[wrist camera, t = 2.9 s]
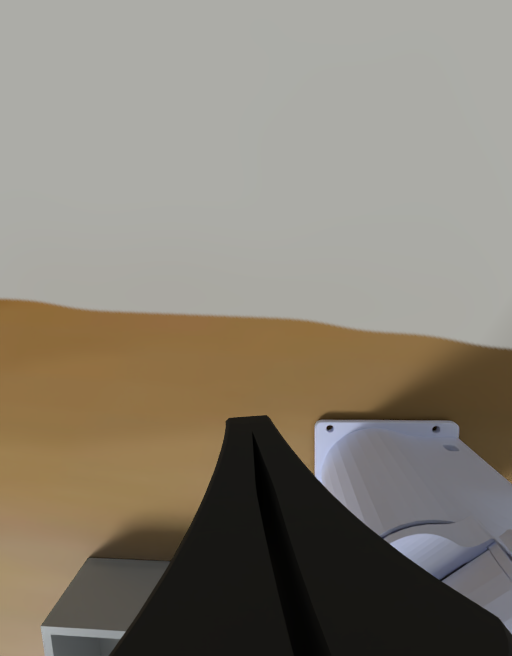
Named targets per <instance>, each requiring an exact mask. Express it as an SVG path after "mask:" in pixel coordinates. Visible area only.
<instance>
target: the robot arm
mask: <svg viewBox="0 0 512 656" xmlns="http://www.w3.org/2000/svg"><path fill="white" fill-rule="evenodd" d="M328 425H332V426H333V428H332V429H330V430H328V429H326V427H327V426H328ZM434 426H437V429H436V430H434V431H432V428H433V427H434ZM109 656H512V484H511V483H510V482H509V481H508V480H507V479H505V478H504V477H503V476H502V475H501V474H500V473H498V472H497V471H496V470H495V469H494V468H493V467H491V466H490V465H489V464H488V463H487V462H486V461H484V460H483V459H482V458H481V457H480V456H479V455H477V454H476V453H475V452H474V451H473V450H472V449H470V448H469V447H468V446H467V445H466V444H465V443H463V442H462V441H461V440H460V439H459V426H458V425H457V424H456V423H455V422H453V421H440V420H319V421H317V422H316V423H315V476H314V475H313V474H312V473H311V471H310V470H309V469H308V468H307V467H306V466H305V465H304V463H303V462H302V461H301V460H300V459H299V457H298V456H297V455H296V454H295V452H294V451H293V450H292V449H291V447H290V446H289V445H288V444H287V442H286V441H285V440H284V438H283V437H282V436H281V434H280V433H279V431H278V430H277V428H276V427H275V425H274V424H273V422H272V421H271V419H270V418H269V417H268V416H267V415H264V416H250V417H236V418H229V419H228V420H227V421H226V429H225V436H224V440H223V444H222V448H221V452H220V455H219V458H218V461H217V464H216V467H215V470H214V473H213V476H212V478H211V481H210V483H209V486H208V488H207V491H206V493H205V495H204V498H203V500H202V502H201V504H200V507H199V509H198V511H197V513H196V515H195V517H194V519H193V521H192V523H191V525H190V527H189V529H188V531H187V533H186V535H185V536H184V538H183V540H182V542H181V544H180V546H179V547H178V549H177V551H176V553H175V555H174V557H173V558H172V560H171V562H170V563H169V565H168V567H167V568H166V570H165V572H164V573H163V575H162V577H161V578H160V580H159V581H158V583H157V584H156V586H155V588H154V589H153V591H152V592H151V594H150V596H149V597H148V599H147V600H146V602H145V603H144V605H143V607H142V608H141V610H140V611H139V613H138V614H137V616H136V617H135V619H134V620H133V622H132V623H131V625H130V626H129V628H128V629H127V630H126V632H125V633H124V635H123V636H122V638H121V639H120V640H119V642H118V643H117V645H116V646H115V647H114V649H113V650H112V652H111V653H110V654H109Z"/></svg>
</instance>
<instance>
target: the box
mask: <svg viewBox="0 0 512 656" xmlns="http://www.w3.org/2000/svg"><path fill="white" fill-rule="evenodd" d="M170 562H171V561H153V560H130V559H107V558H88V559H87V560H86V562H85V563H84V565H83V566H82V567H81V569H80V570H79V572H78V573H77V575H76V576H75V577H74V579H73V580H72V582H71V583H70V585H69V586H68V588H67V589H66V590H65V592H64V593H63V595H62V596H61V598H60V599H59V600H58V602H57V603H56V605H55V606H54V608H53V609H52V611H51V612H50V613H49V615H48V616H47V618H46V619H45V621H44V622H43V623H42V625H41V632H42V639H43V645H44V652H45V656H109V654H110V653H111V652H112V650H113V649H114V647H115V646H116V645H117V643H118V642H119V640H120V639H121V638H122V636H123V635H124V633H125V632H126V630H127V629H128V628H129V626H130V625H131V623H132V622H133V620H134V619H135V617H136V616H137V614H138V613H139V611H140V610H141V608H142V607H143V605H144V603H145V602H146V600H147V599H148V597H149V596H150V594H151V592H152V591H153V589H154V588H155V586H156V584H157V583H158V581H159V580H160V578H161V577H162V575H163V573H164V572H165V570H166V568H167V567H168V565H169V563H170Z"/></svg>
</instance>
